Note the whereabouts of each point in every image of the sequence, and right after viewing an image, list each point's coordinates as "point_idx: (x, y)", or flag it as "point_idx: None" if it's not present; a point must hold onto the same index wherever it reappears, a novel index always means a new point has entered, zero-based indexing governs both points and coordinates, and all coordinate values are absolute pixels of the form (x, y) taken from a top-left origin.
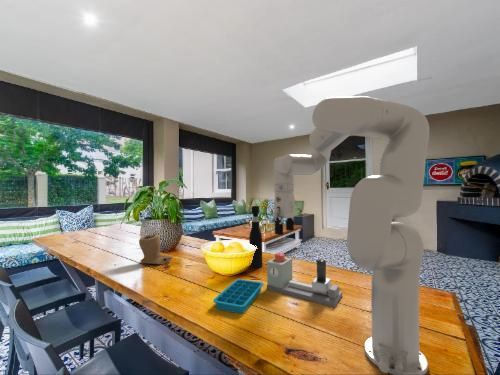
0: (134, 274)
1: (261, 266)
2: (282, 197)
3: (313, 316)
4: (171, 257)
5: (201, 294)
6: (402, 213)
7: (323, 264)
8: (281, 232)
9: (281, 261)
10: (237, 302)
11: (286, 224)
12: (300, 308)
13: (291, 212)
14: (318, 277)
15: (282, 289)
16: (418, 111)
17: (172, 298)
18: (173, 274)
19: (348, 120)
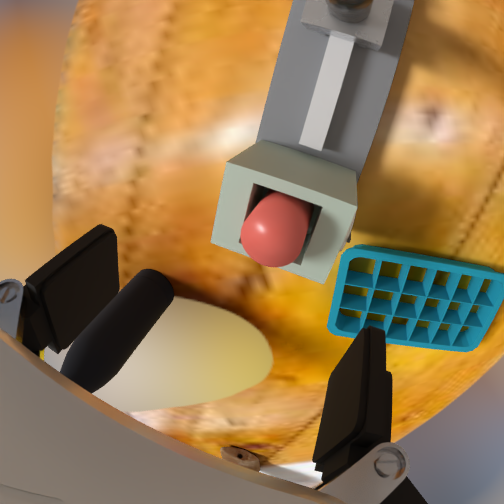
0: (309, 467)
1: (154, 271)
2: None
3: (492, 66)
4: (224, 450)
5: (396, 376)
6: None
7: None
8: (378, 353)
9: (303, 214)
10: (471, 297)
11: (87, 323)
12: (458, 100)
13: (45, 482)
14: (367, 12)
15: (361, 169)
16: None
17: (414, 409)
18: (293, 434)
19: None
